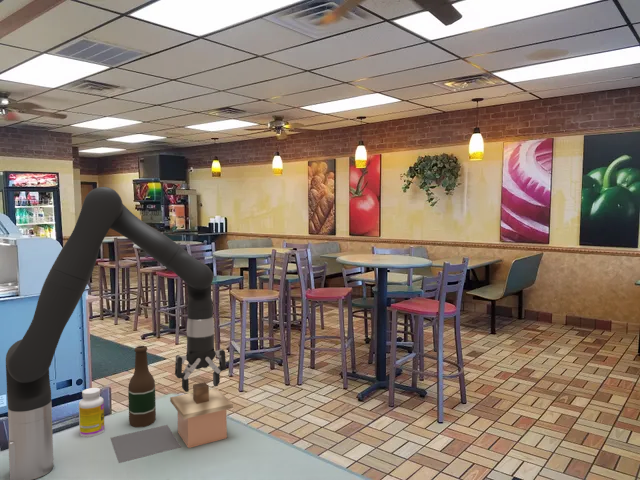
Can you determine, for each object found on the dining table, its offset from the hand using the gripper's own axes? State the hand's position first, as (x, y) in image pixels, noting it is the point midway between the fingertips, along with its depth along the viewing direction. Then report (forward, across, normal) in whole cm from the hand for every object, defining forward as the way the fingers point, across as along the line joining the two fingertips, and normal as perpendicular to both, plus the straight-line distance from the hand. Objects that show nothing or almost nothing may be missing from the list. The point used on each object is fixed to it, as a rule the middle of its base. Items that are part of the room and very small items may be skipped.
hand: (201, 388), depth 135 cm
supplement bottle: (+14, -27, +19) cm, 36 cm away
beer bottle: (+14, -13, +18) cm, 27 cm away
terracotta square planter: (+14, 0, 0) cm, 14 cm away
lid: (+5, 0, 0) cm, 5 cm away
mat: (+14, -15, +4) cm, 21 cm away
